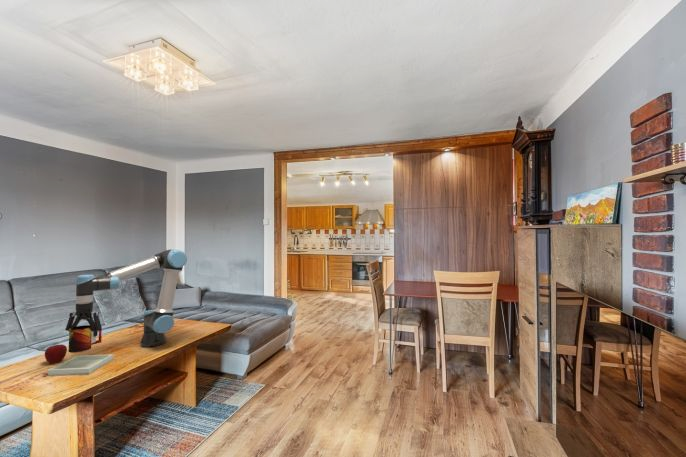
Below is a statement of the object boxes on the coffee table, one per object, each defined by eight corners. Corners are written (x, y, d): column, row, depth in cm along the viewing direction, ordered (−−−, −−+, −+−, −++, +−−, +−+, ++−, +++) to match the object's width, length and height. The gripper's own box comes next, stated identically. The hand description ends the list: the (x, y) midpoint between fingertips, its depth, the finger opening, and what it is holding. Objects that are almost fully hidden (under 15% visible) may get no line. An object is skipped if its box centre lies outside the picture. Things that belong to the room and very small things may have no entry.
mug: (101, 344, 179) (102, 323, 179) (81, 352, 165) (82, 330, 165) (85, 343, 179) (86, 323, 179) (63, 352, 165) (64, 329, 165)
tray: (113, 359, 182) (113, 354, 182) (88, 374, 162) (89, 368, 162) (77, 360, 180) (77, 355, 180) (47, 375, 160) (48, 370, 160)
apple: (62, 358, 185) (62, 341, 185) (69, 360, 180) (70, 343, 181) (41, 363, 176) (41, 346, 177) (48, 366, 172) (49, 348, 172)
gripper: (110, 300, 177) (109, 339, 176) (68, 301, 175) (66, 341, 174) (101, 303, 170) (100, 344, 169) (57, 304, 168) (55, 345, 167)
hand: (83, 342), depth 172 cm, fingers closed on mug, 10 cm apart
